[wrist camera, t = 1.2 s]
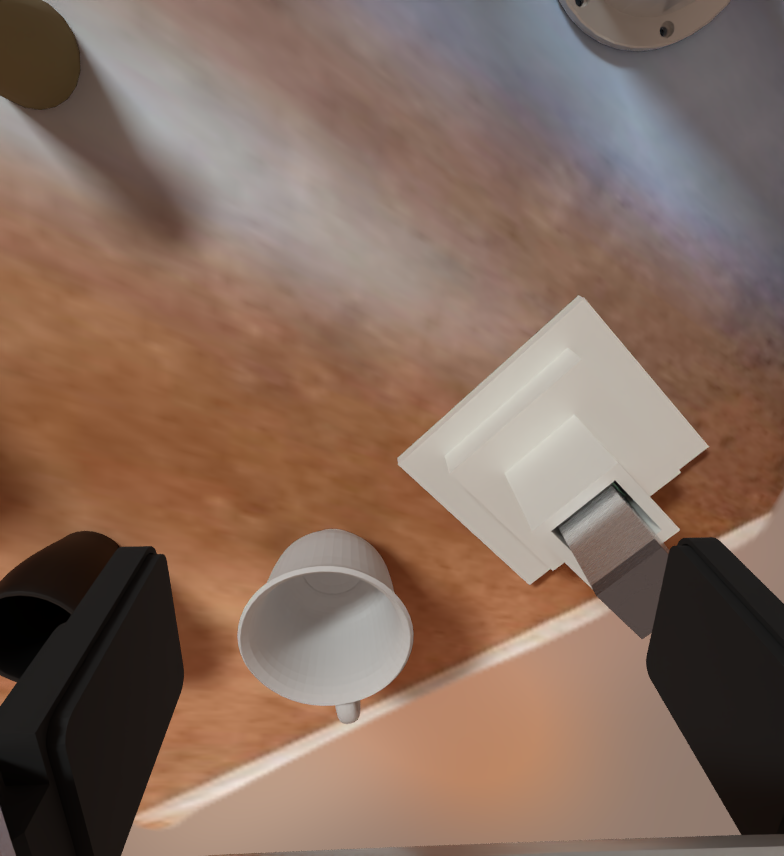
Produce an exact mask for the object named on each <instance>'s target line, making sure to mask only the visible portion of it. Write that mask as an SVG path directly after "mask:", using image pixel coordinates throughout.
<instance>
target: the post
mask: <svg viewBox="0 0 784 856" xmlns="http://www.w3.org/2000/svg"><path fill="white" fill-rule="evenodd" d="M558 528H559V530H560V532H561V533H562V535H563V537H564V539H565V541H566V542H567V544H568V546H569V548H570V549H571V551H572V553H573V555H574V557H575V558H576V560H577V562H578V564H579V566H580V567H581V569H582V571H583V573H584V574H585V576H586V578H587V580H588V582H589V583H590V585H591V587H592V589H593V590H594V592H595V594H596V596H597V597H598V598H599V599H600V600H601V601H602V602H604V603H605V604H606V605H607V606H608V607H609V608H610V609H611V610H612V611H613V612H614V613H615V614H616V615H617V616H618V617H619V618H620V619H621V620H622V621H623V622H625V624H626V625H628V626H629V627H630V628H631V629H632V630H633V631H634V632H635V633H636V634H637V635H638V636H639V637H640V638H641V639H643V638H645V637H646V636H647V635H649V634H650V633H652V629H653V624H654V620H655V615H656V610H657V605H658V601H659V596H660V591H661V587H662V582H663V577H664V572H665V568H666V563H667V558H668V554H669V551H670V550H669V549H668V548H667V547H666V546H665V544H664V543H663V542H662V541H661V540H660V538H659V537H658V536H657V535H656V534H655V532H654V531H653V530H652V529H651V528H650V526H649V525H648V524H647V523H646V522H645V520H644V519H643V518H642V517H641V516H640V514H639V513H638V512H637V511H636V510H635V508H634V507H633V506H632V505H631V504H630V502H629V501H628V500H627V499H626V498H625V494H624V493H623V491H622V490H621V489H620V488H619V487H618V486H617V485H616V484H615V482H612V483H611V484H610V485H609V486H607V487H606V488H605V489H604V490H602V491H601V492H600V493H598V494H597V495H596V496H595V497H593V498H592V499H591V500H590V501H588V502H587V503H586V504H585V505H583V506H582V507H581V508H580V509H578V510H577V511H576V512H574V513H573V514H572V515H571V516H569V517H568V518H567V519H566V520H564V521H563V522H562V523H561V524H559V525H558Z"/></svg>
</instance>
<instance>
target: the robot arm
mask: <svg viewBox="0 0 784 856" xmlns="http://www.w3.org/2000/svg"><path fill="white" fill-rule="evenodd" d="M730 1H731V0H581V6H580V7H578V6H577V5H576V3H575V0H559V2H560V3H561V5H562V6H563V8H564V10H565V11H566V13H567V14H568V16H569V17H570V19H571V20H572V21H573V22H574V23H575V24H576V25H577V26H578V27H579V28H580V29H581V30H582V31H583V32H584V33H586V34H587V35H589V36H590V37H592V38H593V39H595V40H596V41H598V42H599V43H602V44H604V45H607V46H610V47H613V48H616V49H619V50H628V51H646V50H654V49H659V48H662V47H665V46H667V45H670V44H673V43H676V42H678V41H680V40H682V39H684V38H686V37H688V36H690V35H692V34H694V33H695V32H697V31H698V30H699V29H701V28H702V27H704V26H705V25H707V24H708V23H710V22H711V21H712V20H713V19H714V18H715V17H716V16H717V15H718V14H719V13H720V12H721V11H722V10H723V9H724V8H725V7H726V6H727V5H728V4H729V2H730ZM660 28H661V29H663V31H664V35H663V37H662V36H661V35H660ZM646 665H647V671H648V674H649V677H650V679H651V681H652V683H653V684H654V686H655V688H656V689H657V691H658V693H659V695H660V696H661V698H662V700H663V701H664V703H665V705H666V706H667V708H668V710H669V711H670V713H671V715H672V717H673V718H674V720H675V722H676V723H677V725H678V727H679V729H680V730H681V732H682V734H683V736H684V737H685V739H686V740H687V742H688V744H689V745H690V748H691V749H692V751H693V752H694V754H695V756H696V758H697V760H698V761H699V763H700V765H701V766H702V768H703V770H704V771H705V773H706V775H707V777H708V778H709V780H710V782H711V783H712V785H713V787H714V789H715V790H716V792H717V793H718V795H719V797H720V798H721V800H722V802H723V804H724V806H725V807H726V809H727V811H728V812H729V814H730V816H731V818H732V819H733V821H734V822H735V824H736V826H737V828H738V830H739V831H740V833H741V835H729V836H697V837H668V838H667V837H665V838H635V839H602V840H573V841H545V842H518V843H490V844H465V845H439V846H414V847H387V848H364V849H341V850H318V851H296V852H274V853H251V854H229V855H228V854H227V855H209V856H784V604H783V603H782V602H781V601H780V600H779V599H778V598H777V597H776V596H775V595H774V594H773V593H772V592H771V591H770V590H769V589H768V588H767V587H766V586H765V585H764V584H763V583H762V582H761V581H760V580H759V579H758V578H757V577H756V576H755V575H754V574H753V573H752V572H751V571H750V570H749V569H748V568H747V567H746V566H745V565H744V564H743V563H742V562H741V561H740V560H739V559H738V558H737V557H736V556H735V555H734V554H733V553H732V552H731V551H730V550H729V549H728V548H727V547H726V546H725V545H723V544H722V543H721V542H720V541H719V540H718V539H716V538H712V537H710V538H683V539H681V540H680V541H679V542H678V545H677V546H673V547H671V549H670V551H669V554H668V558H667V563H666V568H665V572H664V577H663V582H662V587H661V591H660V596H659V601H658V605H657V610H656V615H655V620H654V624H653V629H652V634H651V639H650V643H649V648H648V653H647V659H646ZM183 679H184V668H183V661H182V655H181V649H180V642H179V636H178V629H177V623H176V617H175V610H174V604H173V597H172V591H171V584H170V578H169V572H168V565H167V560H166V557H165V555H163V554H157V553H156V550H155V549H154V548H153V547H152V546H144V547H119V548H118V549H117V550H116V551H115V553H114V554H113V556H112V557H111V558H110V560H109V561H108V563H107V564H106V566H105V567H104V569H103V570H102V571H101V573H100V574H99V576H98V577H97V579H96V580H95V582H94V583H93V584H92V586H91V587H90V589H89V590H88V592H87V593H86V594H85V596H84V597H83V599H82V600H81V602H80V603H79V605H78V606H77V607H76V609H75V610H74V612H73V613H72V615H71V616H70V618H69V619H68V620H67V622H65V623H63V624H61V625H59V626H58V627H57V628H56V629H55V630H54V631H53V633H52V634H51V635H50V637H49V638H48V640H47V641H46V643H45V644H44V645H43V647H42V648H41V650H40V651H39V652H38V654H37V655H36V657H35V658H34V659H33V661H32V662H31V664H30V665H29V667H28V668H27V669H26V671H25V672H24V674H23V675H22V676H21V678H20V679H19V681H18V682H17V684H16V685H15V686H14V688H13V689H12V691H11V692H10V693H9V695H8V696H7V698H6V699H5V700H4V702H3V703H2V705H1V706H0V856H121V854H122V851H123V848H124V845H125V843H126V840H127V837H128V835H129V832H130V829H131V826H132V824H133V821H134V818H135V816H136V813H137V810H138V807H139V805H140V802H141V799H142V797H143V794H144V791H145V788H146V786H147V783H148V780H149V777H150V775H151V772H152V769H153V767H154V764H155V761H156V758H157V756H158V753H159V750H160V748H161V745H162V742H163V739H164V737H165V734H166V731H167V729H168V726H169V723H170V720H171V718H172V715H173V712H174V709H175V707H176V704H177V701H178V699H179V696H180V693H181V690H182V686H183Z"/></svg>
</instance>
